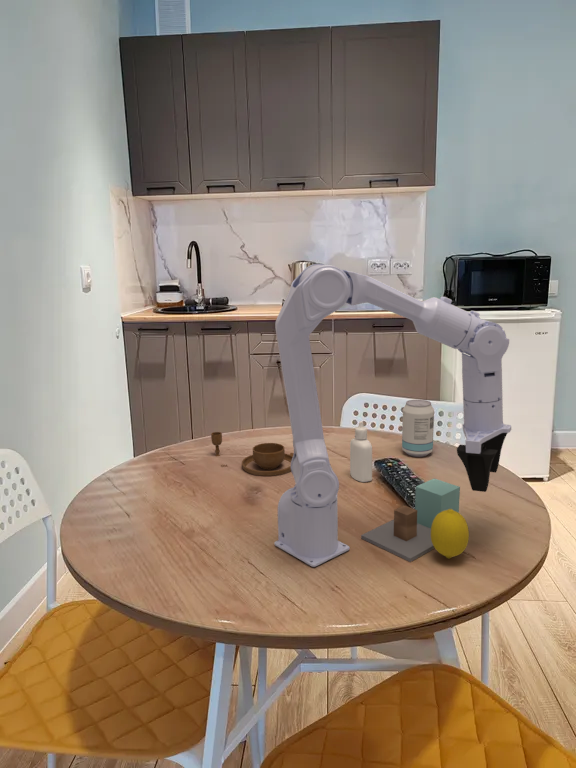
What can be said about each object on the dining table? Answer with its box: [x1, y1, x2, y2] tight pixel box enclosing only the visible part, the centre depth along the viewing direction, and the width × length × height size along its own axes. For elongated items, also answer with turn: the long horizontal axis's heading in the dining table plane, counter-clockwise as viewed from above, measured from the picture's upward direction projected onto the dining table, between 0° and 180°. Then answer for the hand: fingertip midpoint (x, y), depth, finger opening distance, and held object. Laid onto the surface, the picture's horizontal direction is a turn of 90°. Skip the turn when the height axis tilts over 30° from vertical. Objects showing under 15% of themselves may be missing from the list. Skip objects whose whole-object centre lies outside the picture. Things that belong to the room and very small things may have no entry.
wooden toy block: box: [393, 505, 417, 541], centre depth 93 cm, size 3×3×4 cm
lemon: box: [431, 509, 470, 559], centre depth 87 cm, size 6×6×8 cm
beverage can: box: [401, 399, 435, 458], centre depth 132 cm, size 7×7×12 cm
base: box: [360, 518, 435, 563], centre depth 94 cm, size 10×10×1 cm
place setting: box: [210, 431, 294, 477], centre depth 130 cm, size 18×20×6 cm
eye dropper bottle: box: [349, 421, 373, 483], centre depth 118 cm, size 4×6×12 cm
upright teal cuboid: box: [414, 478, 461, 529], centre depth 99 cm, size 5×5×7 cm
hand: (484, 480), depth 92 cm, fingers open, 7 cm apart
